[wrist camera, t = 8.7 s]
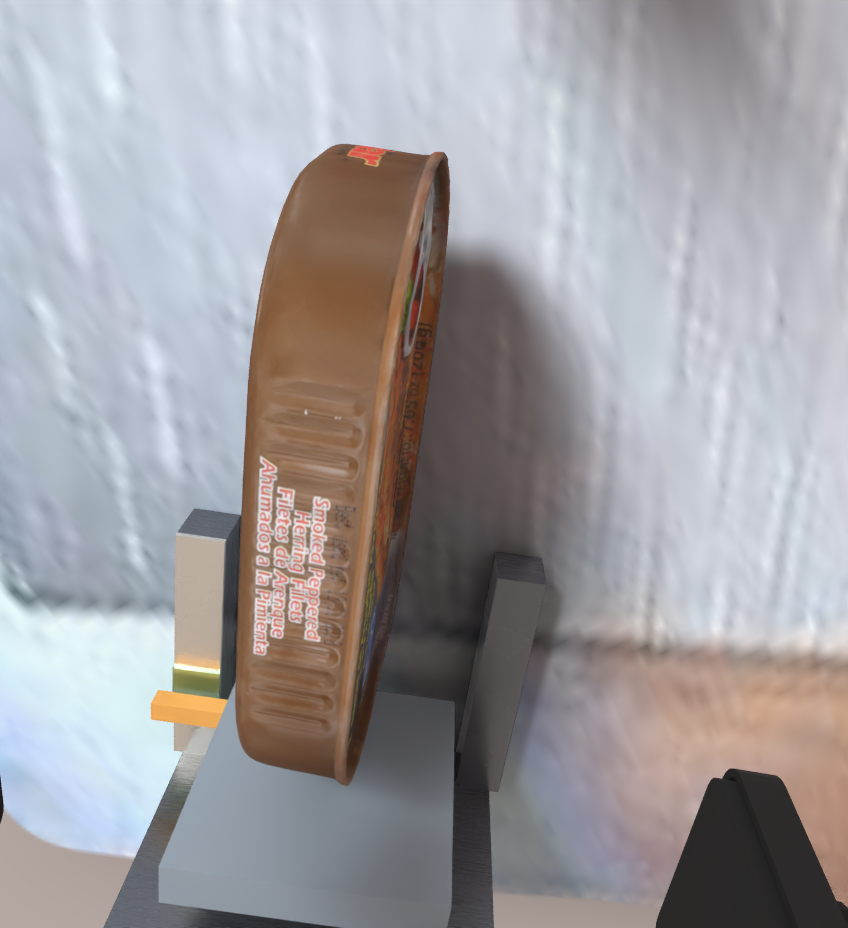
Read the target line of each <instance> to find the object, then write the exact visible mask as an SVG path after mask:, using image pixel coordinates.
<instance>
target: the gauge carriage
mask: <svg viewBox="0 0 848 928" xmlns="http://www.w3.org/2000/svg"><path fill="white" fill-rule="evenodd" d="M235 685H236V682H235V684H234V686H233V689H232V691H231V694H230V696H229V698H228V700H225V699H218V698H211V697H204V696H197V695H190V694H183V693H176V692H169V691H162V690H158V692H157V694H156V695H155V697H154V699H153V701H152V703H151V719H152V720H159V721H167V722H174V723H181V724H188V725H195V726H202V727H209V728H216V730H215V732H214V735H213V737H212V739H211V742H210V744H209V747H208V749H207V751H206V754H205V756H204V759H203V761H202V763H201V766H200V768H199V771H198V773H197V775H196V778H195V780H194V783H193V785H192V787H191V790H190V792H189V795H188V797H187V800H186V802H185V804H184V807H183V809H182V812H181V814H180V816H179V819H178V821H177V824H176V826H175V828H174V831H173V833H172V836H171V838H170V840H169V843H168V845H167V848H166V850H165V852H164V855H163V857H162V860H161V862H160V864H159V903H167V904H174V905H181V906H188V907H196V908H203V909H210V910H217V911H224V912H232V913H239V914H246V915H253V916H261V917H268V918H275V919H282V920H289V921H297V922H304V923H311V924H318V925H326V926H333V927H340V928H447V926H448V921H449V917H450V912H451V906H452V849H453V792H454V735H455V701H448V700H441V699H434V698H427V697H420V696H413V695H406V694H399V693H392V692H384V691H377V692H376V696H375V700H374V705H373V709H372V714H371V719H370V722H369V726H368V731H367V735H366V739H365V742H364V746H363V749H362V753H361V756H360V760H359V763H358V766H357V768H356V771H355V774H354V776H353V780H352V781H351V784H350V785H348V786H344V785H341V784H339V783H338V782H337V781H336V780H335V779H332V778H328V777H323V776H318V775H314V774H308V773H303V772H298V771H293V770H288V769H283V768H279V767H274V766H270V765H266V764H262V763H260V762H257V761H255V760H253V759H252V758H250V757H249V756H248V755H247V754H246V753H245V752H244V750H243V748H242V746H241V743H240V741H239V737H238V732H237V725H236V711H235Z"/></svg>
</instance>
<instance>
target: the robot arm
mask: <svg viewBox="0 0 848 928" xmlns="http://www.w3.org/2000/svg"><path fill="white" fill-rule="evenodd" d="M3 807H4V804H3V796H2V787H1V778H0V822H1V819H2V816H3ZM656 928H848V908H847V907H846V906H845V905H844V904H843V903H842V902H839V901H836V899H835V897H834V895H833V892H832V890H831V888H830V886H829V883H828V881H827V879H826V877H825V874H824V872H823V870H822V868H821V865H820V863H819V861H818V859H817V856H816V854H815V852H814V850H813V847H812V845H811V843H810V841H809V838H808V836H807V834H806V832H805V829H804V827H803V825H802V823H801V820H800V818H799V816H798V814H797V811H796V809H795V807H794V805H793V802H792V800H791V798H790V796H789V793H788V791H787V789H786V787H785V785H784V783H783V781H782V780H781V779H780V778H779V777H777V776H775V775H769V774H763V773H757V772H751V771H745V770H739V769H729V770H728V771H726V773H725V775H724V776H723V778H722V779H720V778H713V779H712V780H711V781H710V782H709V784H708V787H707V789H706V792H705V795H704V797H703V800H702V802H701V805H700V808H699V810H698V813H697V816H696V818H695V821H694V823H693V826H692V829H691V831H690V834H689V837H688V839H687V842H686V844H685V847H684V850H683V852H682V855H681V858H680V860H679V863H678V865H677V868H676V871H675V873H674V876H673V879H672V881H671V884H670V886H669V889H668V892H667V894H666V897H665V899H664V902H663V905H662V907H661V910H660V913H659V916H658V919H657V922H656Z"/></svg>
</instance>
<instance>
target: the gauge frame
mask: <svg viewBox="0 0 848 928" xmlns="http://www.w3.org/2000/svg"><path fill="white" fill-rule="evenodd" d="M239 534H240V515H235V514H228V513H221V512H214V511H207V510H200V509H194V510H193V511H192V513H191V514H190V515H189V517H188V518H187V520H186V521H185V522H184V524H183V525H182V527H181V528H180V529H179V531H178V532H177V534H176V535H175V666H174V667H173V692H176V693H183V694H190V695H197V696H204V697H211V698H218V699H225V700H228V698H229V696H230V694H231V691H232V689H233V668H234V646H235V623H236V601H237V579H238V556H239ZM545 589H546V580H545V575H544V569H543V563H542V558H535V557H528V556H521V555H514V554H507V553H501V552H496V554H495V559H494V564H493V569H492V574H491V579H490V584H489V589H488V594H487V599H486V604H485V609H484V614H483V619H482V624H481V629H480V634H479V639H478V644H477V649H476V654H475V659H474V664H473V669H472V674H471V679H470V684H469V689H468V694H467V699H466V705H465V710H464V715H463V720H462V725H461V730H460V735H459V740H458V745H457V750H456V752H454V792H453V849H452V906H451V912H450V917H449V921H448V926H447V928H494V921H493V892H492V864H491V836H490V808H489V791H494V792H498V790H499V785H500V781H501V777H502V773H503V768H504V764H505V760H506V755H507V751H508V747H509V743H510V738H511V734H512V730H513V726H514V721H515V717H516V713H517V709H518V704H519V700H520V696H521V691H522V687H523V683H524V679H525V674H526V670H527V666H528V662H529V657H530V653H531V649H532V644H533V640H534V636H535V632H536V627H537V623H538V619H539V615H540V610H541V606H542V602H543V597H544V593H545ZM215 730H216V728H209V727H202V726H195V725H188V724H181V723H174V750H175V751H182V752H183V753H182V755H181V758H180V760H179V762H178V764H177V766H176V769H175V771H174V773H173V775H172V777H171V780H170V782H169V784H168V786H167V788H166V791H165V793H164V795H163V797H162V799H161V802H160V804H159V806H158V808H157V811H156V813H155V815H154V817H153V819H152V822H151V824H150V826H149V828H148V830H147V833H146V835H145V837H144V839H143V841H142V844H141V846H140V848H139V850H138V852H137V855H136V857H135V859H134V861H133V864H132V866H131V868H130V870H129V873H128V875H127V877H126V879H125V881H124V883H123V886H122V888H121V890H120V892H119V894H118V897H117V899H116V901H115V903H114V906H113V908H112V910H111V912H110V915H109V917H108V919H107V921H106V923H105V925H104V928H340V927H333V926H326V925H318V924H311V923H304V922H297V921H289V920H282V919H275V918H268V917H261V916H253V915H246V914H239V913H232V912H224V911H217V910H210V909H203V908H196V907H188V906H181V905H174V904H167V903H159V864H160V862H161V860H162V857H163V855H164V852H165V850H166V848H167V845H168V843H169V840H170V838H171V836H172V833H173V831H174V828H175V826H176V824H177V821H178V819H179V816H180V814H181V812H182V809H183V807H184V804H185V802H186V800H187V797H188V795H189V792H190V790H191V787H192V785H193V783H194V780H195V778H196V775H197V773H198V771H199V768H200V766H201V763H202V761H203V759H204V756H205V754H206V751H207V749H208V747H209V744H210V742H211V739H212V737H213V735H214V732H215Z"/></svg>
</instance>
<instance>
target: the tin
mask: <svg viewBox="0 0 848 928" xmlns="http://www.w3.org/2000/svg"><path fill="white" fill-rule="evenodd" d="M449 186H450V179H449V167H448V158H447V156H446V154H445V153H444V152H434V153H433V154H431V155H420V154H412V153H405V152H399V151H393V150H387V149H380V148H374V147H368V146H360V145H351V144H339V145H335V146H332V147H330V148H329V149H327V150H326V151H324V152H323V153H322V154H320V155H319V156H318V157H317V158H316V159H314V160H313V161H312V162H310V163H309V164H308V165H307V166H306V167H305V168H304V170H303V171H302V172H301V173H300V174H299V176H298V177H297V179H296V180H295V182H294V184H293V186H292V188H291V190H290V192H289V195H288V197H287V199H286V202H285V204H284V206H283V209H282V212H281V215H280V217H279V220H278V223H277V227H276V230H275V233H274V236H273V239H272V242H271V246H270V249H269V253H268V258H267V262H266V266H265V270H264V274H263V279H262V284H261V289H260V295H259V300H258V307H257V313H256V320H255V327H254V334H253V341H252V349H251V356H250V368H249V380H248V395H247V416H246V435H245V451H244V471H243V494H242V514H241V535H240V567H239V586H238V616H237V641H236V645H237V654H236V685H235V711H236V725H237V732H238V737H239V741H240V743H241V746H242V748H243V750H244V752H245V753H246V754H247V755H248V756H249V757H250V758H252V759H253V760H255V761H257V762H260V763H262V764H266V765H270V766H274V767H279V768H283V769H288V770H293V771H298V772H303V773H308V774H314V775H318V776H323V777H328V778H332V779H335V780H336V781H337V782H338V783H339V784H341V785H344V786H348V785H350V784H351V781H352V780H353V776H354V774H355V771H356V768H357V766H358V763H359V760H360V756H361V753H362V749H363V746H364V742H365V739H366V735H367V731H368V726H369V722H370V719H371V714H372V709H373V705H374V700H375V696H376V692H377V687H378V682H379V678H380V672H381V668H382V663H383V659H384V655H385V650H386V646H387V642H388V638H389V633H390V629H391V625H392V620H393V615H394V610H395V604H396V598H397V592H398V586H399V581H400V574H401V567H402V558H403V553H404V547H405V541H406V536H407V528H408V522H409V515H410V508H411V501H412V494H413V486H414V480H415V472H416V466H417V458H418V452H419V445H420V438H421V430H422V424H423V418H424V411H425V403H426V397H427V390H428V384H429V377H430V370H431V364H432V357H433V350H434V342H435V335H436V328H437V321H438V314H439V307H440V299H441V292H442V281H443V270H444V264H445V255H446V245H447V234H448V221H449V201H450V188H449Z"/></svg>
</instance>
